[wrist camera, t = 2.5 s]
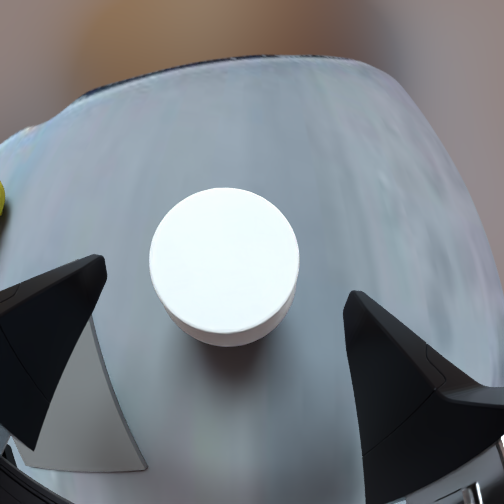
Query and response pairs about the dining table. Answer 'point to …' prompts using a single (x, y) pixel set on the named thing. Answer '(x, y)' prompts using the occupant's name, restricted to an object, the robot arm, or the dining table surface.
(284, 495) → the dining table surface
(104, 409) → the mat
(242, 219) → the pill bottle
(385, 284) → the dining table surface
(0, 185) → the lemon
